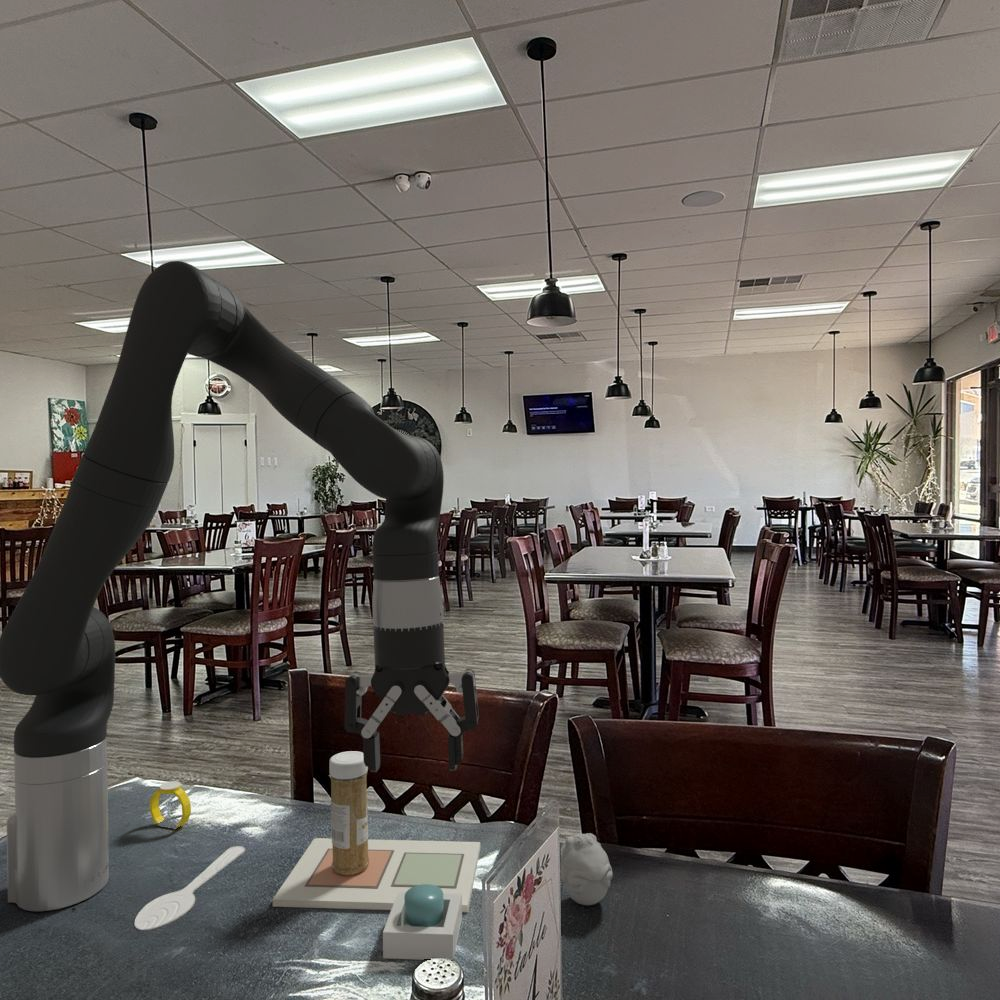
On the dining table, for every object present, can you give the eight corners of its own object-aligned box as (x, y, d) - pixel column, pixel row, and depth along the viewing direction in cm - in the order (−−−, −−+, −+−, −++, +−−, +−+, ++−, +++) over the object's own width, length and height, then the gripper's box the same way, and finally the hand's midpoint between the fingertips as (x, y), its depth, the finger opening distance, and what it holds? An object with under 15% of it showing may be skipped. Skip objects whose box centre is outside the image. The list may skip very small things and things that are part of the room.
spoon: (259, 851, 91) (258, 847, 91) (162, 936, 74) (162, 931, 74) (222, 847, 92) (222, 843, 92) (119, 930, 75) (119, 925, 75)
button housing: (383, 958, 69) (382, 932, 69) (398, 915, 76) (398, 892, 76) (453, 960, 69) (452, 934, 69) (462, 917, 76) (461, 894, 76)
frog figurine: (596, 879, 83) (595, 820, 83) (624, 912, 76) (623, 849, 76) (548, 888, 81) (548, 828, 81) (573, 923, 74) (572, 858, 74)
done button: (401, 927, 71) (400, 905, 71) (409, 904, 75) (408, 883, 75) (440, 928, 70) (439, 906, 70) (446, 905, 74) (445, 884, 74)
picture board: (272, 906, 78) (272, 898, 78) (314, 844, 92) (314, 837, 92) (467, 912, 77) (467, 904, 77) (480, 848, 91) (480, 841, 91)
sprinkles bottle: (375, 869, 84) (373, 758, 84) (338, 881, 82) (337, 766, 81) (360, 853, 88) (359, 746, 88) (325, 864, 85) (323, 754, 85)
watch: (194, 827, 98) (196, 785, 98) (179, 836, 96) (181, 793, 95) (160, 818, 100) (161, 777, 100) (144, 827, 97) (146, 785, 97)
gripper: (333, 627, 72) (339, 784, 72) (471, 623, 71) (477, 781, 71) (352, 615, 79) (357, 757, 80) (476, 611, 79) (482, 754, 79)
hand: (414, 768), depth 75 cm, fingers open, 8 cm apart
